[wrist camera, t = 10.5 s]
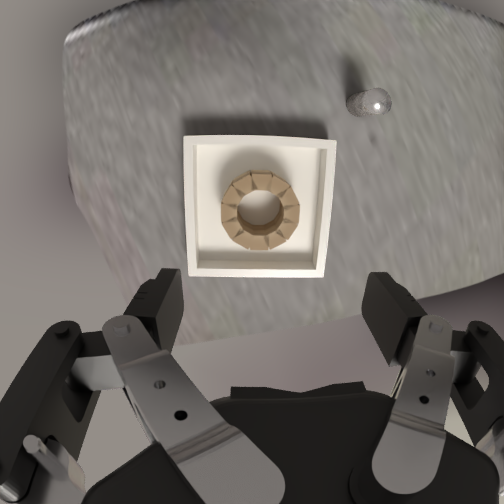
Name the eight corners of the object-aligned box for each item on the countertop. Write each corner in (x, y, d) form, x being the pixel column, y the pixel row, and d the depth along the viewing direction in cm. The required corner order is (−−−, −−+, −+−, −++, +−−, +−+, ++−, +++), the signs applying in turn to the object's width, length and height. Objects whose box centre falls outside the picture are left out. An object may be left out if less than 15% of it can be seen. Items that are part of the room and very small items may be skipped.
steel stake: (368, 96, 23) (391, 90, 19) (367, 118, 24) (391, 116, 20) (346, 92, 23) (367, 85, 19) (346, 114, 24) (366, 111, 19)
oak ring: (295, 171, 26) (302, 175, 23) (291, 238, 28) (296, 250, 25) (223, 169, 25) (220, 173, 23) (223, 237, 28) (221, 249, 25)
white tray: (328, 139, 25) (336, 140, 23) (317, 266, 30) (323, 277, 28) (189, 135, 25) (183, 136, 22) (193, 264, 29) (188, 276, 27)
